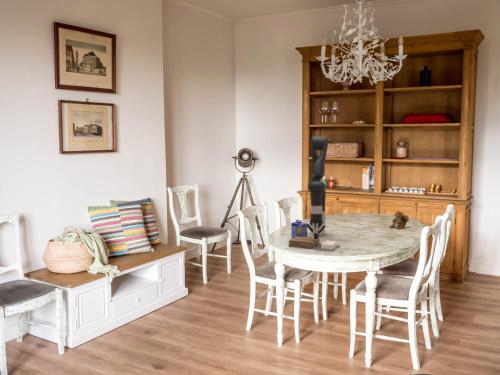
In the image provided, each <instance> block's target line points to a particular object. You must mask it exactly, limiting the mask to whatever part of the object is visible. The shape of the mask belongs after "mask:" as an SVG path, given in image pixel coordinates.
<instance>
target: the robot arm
mask: <svg viewBox="0 0 500 375" xmlns="http://www.w3.org/2000/svg"><path fill="white" fill-rule="evenodd" d="M328 147H329V138H328V137H327V136H324V135H321V136H320V135H318V136H317V135H315V136H312V137H311V139H310V152H311V154H310V156H311V162H310V163H311V164H310V179H309V182H308V185H307V190H308V191H309V199H310V211H309V212H310V213H309V214H310V220H309V222H308V223H307V229H308V230H309V231H310V232H311V235H312V236H313V238H315V239H318V238H319V236H321V237H322V236H326V227H327V225H326V197H327V193H326V192H327V190H326V184H325V182H324V181H322V179H323V178H324V177H325V172H326V170H325V169H326V167H325V164H326V163H325V161H326V157H327V152H328ZM318 151H321V152H320V155H319V154H318Z"/></svg>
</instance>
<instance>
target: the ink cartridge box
mask: <svg viewBox="0 0 500 375" xmlns="http://www.w3.org/2000/svg"><path fill="white" fill-rule="evenodd" d="M295 220H296V221H293V222H291V227H290V228H291V239H292V238H294V237H296V236H300V237H308V227H307V224H308V222H302V221H301V220H300V219H295ZM291 239H290V240H291Z"/></svg>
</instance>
